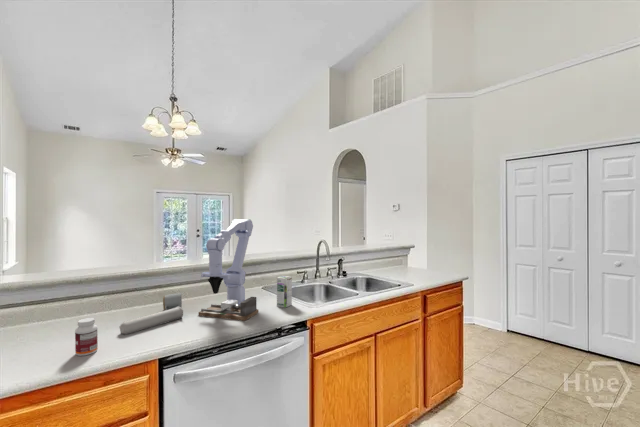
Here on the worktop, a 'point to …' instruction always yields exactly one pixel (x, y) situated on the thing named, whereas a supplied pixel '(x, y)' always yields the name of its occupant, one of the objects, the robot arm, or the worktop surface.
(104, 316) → the worktop surface
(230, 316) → the gauge base
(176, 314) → the tube
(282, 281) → the syrup box
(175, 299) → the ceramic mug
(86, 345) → the pill bottle
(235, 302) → the gauge carriage
